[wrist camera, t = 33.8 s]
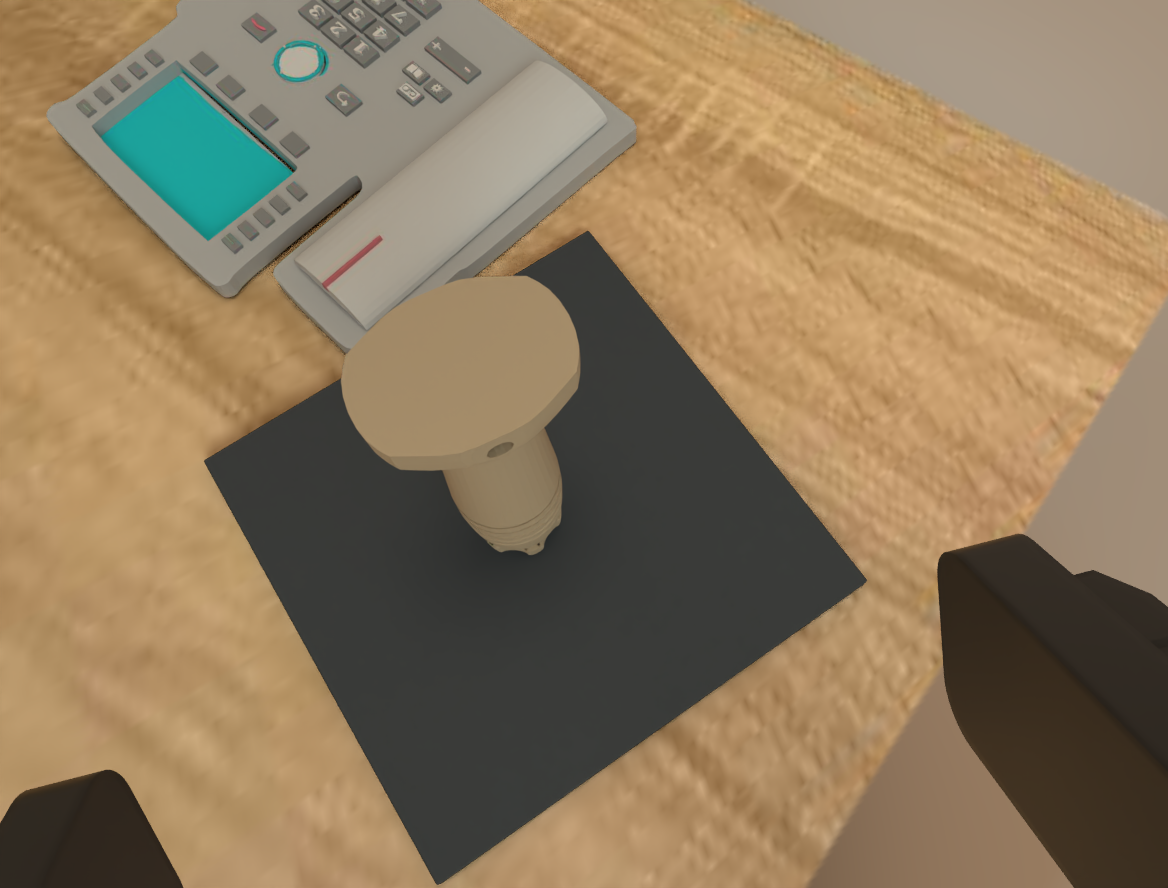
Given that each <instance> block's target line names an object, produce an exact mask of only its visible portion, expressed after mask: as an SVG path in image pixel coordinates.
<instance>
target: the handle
mask: <svg viewBox="0 0 1168 888" xmlns="http://www.w3.org/2000/svg"><path fill="white" fill-rule="evenodd" d="M579 378H580V350H579V343H578V339H577V334H576V330H575V328H574V325H573V323H572V321H571V318H570V316H569V314H568V313H567V311H566V309H565V308H564V306H563V305H562V303H561V302H560V300H559V299H558V298H557V297H556V296H555V295H554V294H553V293H552V292H551V291H550V290H549V289H548V288H546V287H545V286H543V285H542V284H541V283H539V282H538V281H536V280H534V279H532V278H530V277H528V276H491V277H474V278H467V279H460V280H457V281H454V282H451V283H448V284H445V285H442V286H440V287H437V288H435V289H433V290H431V291H428V292H426V293H424V294H421V295H419V296H417V297H414V298H412V299H410V300H408V301H406V302H404V303H402V304H401V305H399V306H397V307H395V308H393V309H392V310H391V311H390V312H388V313H387V314H386V315H385V316H384V317H382V318H381V319H380V320H379V321H378V322H377V323H376V324H375V325H374V326H373V327H372V328H371V329H370V330H369V331H368V332H367V333H366V334H365V335H364V336H363V337H362V338H361V339H360V340H359V341H358V342H357V343H356V345H355V346H354V347H353V348H352V349H351V350H350V351H349V352H348V353H347V354H346V356H345V360H344V364H343V368H342V377H341V385H342V393H343V398H344V402H345V405H346V408H347V411H348V414H349V416H350V418H351V419H352V421H353V423H354V425H355V427H356V429H357V430H358V431H359V433H360V434H361V435H362V437H363V438H364V439H365V441H366V442H367V443H368V444H369V446H370V447H371V448H372V449H373V451H374V452H375V453H376V454H377V455H379V456H380V457H381V458H382V459H384V460H385V461H386V462H388V463H389V464H391V465H393V466H394V467H396V468H398V469H400V470H427V471H434V470H442V471H443V473H444V476H445V479H446V482H447V485H448V488H449V490H450V493H451V496H452V498H453V500H454V502H455V504H456V506H457V507H458V509H459V511H460V513H461V514H462V516H463V517H464V519H465V520H466V521H467V522H468V524H469V525H470V526H471V527H472V528H473V529H474V530H475V531H476V532H477V533H478V534H479V535H480V536H481V537H483V538H484V539H485V540H487V543H488V544H489V545H491V546H492V547H493V548H494V549H495V550H497V551H499V552H504V551H508V550H518V551H522V552H525V553H527V554H528V555H534V554H536V553H538V552H540V551H541V550H542V549H544V543H545V540H546V538H547V536H548V535H549V534H550V533H551V531H552V530H553V529H554V528H555V527H556V526H559V524H560V522H561V504H562V478H561V473H560V468H559V464H558V460H557V457H556V454H555V452H554V449H553V447H552V444H551V442H550V440H549V437H548V435H547V433H546V430H545V428H544V427H545V426H546V425H547V424H548V423H549V422H550V421H551V420H552V419H553V418H554V417H555V416H556V415H557V414H558V413H559V411H560V410H561V409H562V408H563V407H564V405H565V404H566V403H567V402H568V401H569V399H570V398H571V397H572V395H573V394H574V393H575V392H576V390H577V389H578V384H579Z"/></svg>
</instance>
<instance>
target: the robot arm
mask: <svg viewBox="0 0 1168 888" xmlns="http://www.w3.org/2000/svg"><path fill="white" fill-rule="evenodd" d="M937 573H938V591H939V606H940V621H941V636H942V651H943V666H944V678H945V686H946V691H947V695H948V699H949V702H950V705H951V709H952V711H953V714H954V716H955V719H956V721H957V723H958V726H959V728H960V730H961V732H962V734H963V735H964V737H965V739H966V741H967V742H968V743H969V745H970V746H971V748H972V749H973V751H974V752H975V753H976V755H977V756H978V757H979V759H980V760H981V761H982V763H983V764H984V765H985V767H986V768H987V770H988V771H989V772H990V774H991V775H992V776H993V778H994V779H995V780H996V782H997V783H998V785H999V786H1000V787H1001V789H1002V790H1003V791H1004V792H1005V794H1006V795H1007V797H1008V798H1009V800H1010V801H1011V802H1012V804H1013V805H1014V806H1015V808H1016V809H1017V810H1018V812H1019V813H1020V815H1021V816H1022V817H1023V819H1024V820H1025V821H1026V823H1027V824H1028V826H1029V827H1030V828H1031V830H1032V831H1033V832H1034V834H1035V835H1036V836H1037V838H1038V839H1039V840H1040V842H1041V843H1042V844H1043V846H1044V847H1045V849H1046V850H1047V851H1048V853H1049V854H1050V855H1051V857H1052V858H1053V860H1054V861H1055V862H1056V864H1057V865H1058V866H1059V868H1060V869H1061V870H1062V872H1063V873H1064V875H1065V876H1066V877H1067V879H1068V880H1069V881H1070V883H1071V884H1072V885H1073V887H1074V888H1168V607H1167V606H1166V605H1165V604H1163V603H1162V602H1161V601H1159V600H1158V599H1157V598H1156V597H1155V596H1153V595H1152V594H1150V593H1148V592H1145V591H1143V590H1140V589H1138V588H1135V587H1133V586H1130V585H1128V584H1126V583H1123V582H1121V581H1118V580H1116V579H1114V578H1111V577H1109V576H1106V575H1104V574H1102V573H1099V572H1097V571H1094V570H1092V571H1088V572H1084V573H1080V574H1076V575H1073V574H1071V573H1070V572H1069V571H1068V570H1067V569H1066V568H1065V567H1063V566H1062V565H1061V564H1060V563H1059V562H1058V561H1056V560H1055V559H1054V558H1053V557H1052V556H1051V555H1049V554H1048V553H1047V552H1046V551H1045V550H1044V549H1043V548H1041V547H1040V546H1039V545H1038V544H1037V543H1036V542H1035V541H1033V540H1032V539H1030V538H1029V537H1028V536H1025V535H1023V534H1015V535H1011V536H1007V537H1003V538H1000V539H996V540H992V541H988V542H984V543H980V544H976V545H972V546H968V547H964V548H960V549H957V550H953V551H949V552H945V553H943V554H942V555H941V557H940V559H939V562H938V569H937ZM0 888H183V886H182V883H181V881H180V879H179V877H178V875H177V873H176V872H175V870H174V868H173V866H172V864H171V862H170V860H169V859H168V857H167V855H166V853H165V851H164V849H163V848H162V846H161V844H160V842H159V840H158V838H157V836H156V835H155V833H154V831H153V829H152V827H151V825H150V824H149V822H148V820H147V818H146V816H145V814H144V812H143V811H142V809H141V807H140V805H139V803H138V801H137V800H136V798H135V796H134V794H133V792H132V790H131V789H130V787H129V785H128V784H127V782H126V781H125V779H124V778H123V777H122V776H121V775H120V774H118V773H117V772H115V771H112V770H104V771H100V772H96V773H92V774H88V775H84V776H80V777H77V778H73V779H69V780H65V781H61V782H57V783H53V784H49V785H45V786H41V787H38V788H34V789H30V790H26V791H24V792H23V793H21V794H20V795H19V796H18V797H17V798H16V799H15V800H14V801H13V803H12V804H11V806H10V807H9V809H8V811H7V813H6V814H5V816H4V818H3V820H2V821H1V823H0Z"/></svg>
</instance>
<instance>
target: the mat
mask: <svg viewBox="0 0 1168 888" xmlns="http://www.w3.org/2000/svg"><path fill="white" fill-rule="evenodd" d="M513 276H528V277H530V278H532V279H534V280H536V281H538V282H539V283H541V284H542V285H543V286H545V287H546V288H548V289H549V290H550V291H551V292H552V293H553V294H554V295H555V296H556V297H557V298H558V299H559V300H560V302H561V303H562V305H563V306H564V308H565V309H566V311H567V313H568V314H569V316H570V318H571V321H572V323H573V325H574V328H575V330H576V334H577V339H578V343H579V350H580V378H579V384H578V389H577V390H576V392H575V393H574V394H573V395H572V397H571V398H570V399H569V401H568V402H567V403H566V404H565V405H564V407H563V408H562V409H561V410H560V411H559V413H558V414H557V415H556V416H555V417H554V418H553V419H552V420H551V421H550V422H549V423H548V424H547V425H546V426H545V427H544V428H545V430H546V433H547V435H548V437H549V440H550V442H551V444H552V447H553V449H554V452H555V454H556V457H557V460H558V464H559V468H560V473H561V478H562V504H561V522H560V524H559V526H556V527H555V528H554V529H553V530H552V531H551V533H550V534H549V535H548V536H547V538H546V540H545V543H544V549H542V550H541V551H540V552H538V553H536V554H534V555H528V554H527V553H525V552H522V551H518V550H508V551H504V552H499V551H497V550H495V549H494V548H493V547H492V546H491V545H489V544H488V543H487V540H485V539H484V538H483V537H481V536H480V535H479V534H478V533H477V532H476V531H475V530H474V529H473V528H472V527H471V526H470V525H469V524H468V522H467V521H466V520H465V519H464V517H463V516H462V514H461V513H460V511H459V509H458V507H457V506H456V504H455V502H454V500H453V498H452V496H451V493H450V490H449V488H448V485H447V482H446V479H445V476H444V473H443V471H442V470H434V471H427V470H400V469H398V468H396V467H394V466H393V465H391V464H389V463H388V462H386V461H385V460H384V459H382V458H381V457H380V456H379V455H377V454H376V453H375V452H374V451H373V449H372V448H371V447H370V446H369V444H368V443H367V442H366V441H365V439H364V438H363V437H362V435H361V434H360V433H359V431H358V430H357V429H356V427H355V425H354V423H353V421H352V419H351V418H350V416H349V414H348V411H347V408H346V405H345V402H344V398H343V393H342V385H341V379H339V380H338V381H336V382H334V383H333V384H331V385H329V386H328V387H326V388H324V389H323V390H321V391H319V392H318V393H316V394H314V395H313V396H311V397H309V398H308V399H306V400H304V401H303V402H301V403H299V404H298V405H296V406H294V407H293V408H291V409H289V410H288V411H286V412H284V413H283V414H281V415H279V416H278V417H276V418H274V419H273V420H271V421H269V422H268V423H266V424H264V425H263V426H261V427H259V428H258V429H256V430H254V431H253V432H251V433H249V434H248V435H246V436H244V437H243V438H241V439H239V440H238V441H236V442H234V443H233V444H231V445H229V446H227V447H226V448H224V449H222V450H221V451H219V452H217V453H216V454H214V455H212V456H211V457H209V458H207V459H206V460H204V462H205V464H206V466H207V468H208V470H209V471H210V473H211V475H212V477H213V479H214V481H215V482H216V484H217V486H218V488H219V490H220V491H221V493H222V495H223V497H224V499H225V501H226V502H227V504H228V506H229V508H230V510H231V511H232V513H233V515H234V517H235V519H236V521H237V522H238V524H239V526H240V528H241V530H242V531H243V533H244V535H245V537H246V539H247V541H248V542H249V544H250V546H251V548H252V550H253V551H254V553H255V555H256V557H257V559H258V561H259V562H260V564H261V566H262V568H263V570H264V571H265V573H266V575H267V577H268V579H269V581H270V582H271V584H272V586H273V588H274V590H275V592H276V593H277V595H278V597H279V599H280V601H281V602H282V604H283V606H284V608H285V610H286V612H287V613H288V615H289V617H290V619H291V621H292V622H293V624H294V626H295V628H296V630H297V632H298V633H299V635H300V637H301V639H302V641H303V642H304V644H305V646H306V648H307V650H308V652H309V653H310V655H311V657H312V659H313V661H314V662H315V664H316V666H317V668H318V670H319V672H320V673H321V675H322V677H323V679H324V681H325V682H326V684H327V686H328V688H329V690H330V692H331V693H332V695H333V697H334V699H335V701H336V702H337V704H338V706H339V708H340V710H341V712H342V713H343V715H344V717H345V719H346V721H347V723H348V724H349V726H350V728H351V730H352V732H353V733H354V735H355V737H356V739H357V741H358V743H359V744H360V746H361V748H362V750H363V752H364V753H365V755H366V757H367V759H368V761H369V763H370V764H371V766H372V768H373V770H374V772H375V773H376V775H377V777H378V779H379V781H380V783H381V784H382V786H383V788H384V790H385V792H386V793H387V795H388V797H389V799H390V801H391V803H392V804H393V806H394V808H395V810H396V812H397V813H398V815H399V817H400V819H401V821H402V823H403V824H404V826H405V828H406V830H407V832H408V833H409V835H410V837H411V839H412V841H413V843H414V844H415V846H416V848H417V850H418V852H419V854H420V855H421V857H422V859H423V861H424V863H425V864H426V866H427V868H428V870H429V872H430V874H431V875H432V877H433V879H434V881H435V883H436V884H437V885H439V884H441V883H443V882H444V881H446V880H447V879H448V878H450V877H451V876H453V875H454V874H455V873H457V872H458V871H460V870H461V869H463V868H464V867H465V866H467V865H468V864H470V863H471V862H472V861H474V860H475V859H477V858H478V857H479V856H481V855H482V854H484V853H485V852H487V851H488V850H489V849H491V848H492V847H494V846H495V845H496V844H498V843H499V842H501V841H502V840H503V839H505V838H506V837H508V836H509V835H511V834H512V833H513V832H515V831H516V830H518V829H519V828H520V827H522V826H523V825H525V824H526V823H527V822H529V821H530V820H532V819H533V818H535V817H536V816H537V815H539V814H540V813H542V812H543V811H544V810H546V809H547V808H549V807H550V806H551V805H553V804H554V803H556V802H557V801H559V800H560V799H561V798H563V797H564V796H566V795H567V794H568V793H570V792H571V791H573V790H574V789H575V788H577V787H578V786H580V785H581V784H583V783H584V782H585V781H587V780H588V779H590V778H591V777H592V776H594V775H595V774H597V773H598V772H599V771H601V770H602V769H604V768H605V767H607V766H608V765H609V764H611V763H612V762H614V761H615V760H616V759H618V758H619V757H621V756H622V755H623V754H625V753H626V752H628V751H629V750H631V749H632V748H633V747H635V746H636V745H638V744H639V743H640V742H642V741H643V740H645V739H646V738H647V737H649V736H650V735H652V734H653V733H654V732H656V731H657V730H659V729H660V728H662V727H663V726H664V725H666V724H667V723H669V722H670V721H671V720H673V719H674V718H676V717H677V716H678V715H680V714H681V713H683V712H684V711H686V710H687V709H688V708H690V707H691V706H693V705H694V704H695V703H697V702H698V701H700V700H701V699H702V698H704V697H705V696H707V695H708V694H710V693H711V692H712V691H714V690H715V689H717V688H718V687H719V686H721V685H722V684H724V683H725V682H726V681H728V680H729V679H731V678H732V677H734V676H735V675H736V674H738V673H739V672H741V671H742V670H743V669H745V668H746V667H748V666H749V665H750V664H752V663H753V662H755V661H756V660H758V659H759V658H760V657H762V656H763V655H765V654H766V653H767V652H769V651H770V650H772V649H773V648H774V647H776V646H777V645H779V644H780V643H782V642H783V641H784V640H786V639H787V638H789V637H790V636H791V635H793V634H794V633H796V632H797V631H798V630H800V629H801V628H803V627H804V626H806V625H807V624H808V623H810V622H811V621H813V620H814V619H815V618H817V617H818V616H820V615H821V614H822V613H824V612H825V611H827V610H828V609H830V608H831V607H832V606H834V605H835V604H837V603H838V602H839V601H841V600H842V599H844V598H845V597H846V596H848V595H849V594H851V593H852V592H854V591H855V590H856V589H858V588H859V587H861V586H862V585H863V584H864V583H866V581H867V579H866V578H865V577H864V576H863V574H862V573H861V572H860V571H859V569H858V568H857V567H856V566H855V564H854V563H853V562H852V561H851V559H850V558H849V557H848V556H847V554H846V553H845V552H844V551H843V549H842V548H841V547H840V546H839V544H838V543H837V542H836V540H835V539H834V538H833V537H832V535H831V534H830V533H829V532H828V530H827V529H826V528H825V527H824V525H823V524H822V523H821V522H820V520H819V519H818V518H817V517H816V515H815V514H814V513H813V512H812V510H811V509H810V508H809V507H808V505H807V504H806V503H805V502H804V500H803V499H802V498H801V497H800V495H799V494H798V493H797V492H796V490H795V489H794V488H793V487H792V485H791V484H790V483H789V482H788V480H787V479H786V478H785V477H784V475H783V474H782V473H781V472H780V470H779V469H778V468H777V466H776V465H775V464H774V463H773V461H772V460H771V459H770V458H769V456H768V455H767V454H766V453H765V451H764V450H763V449H762V448H761V446H760V445H759V444H758V443H757V441H756V440H755V439H754V438H753V436H752V435H751V434H750V433H749V431H748V430H747V429H746V428H745V426H744V425H743V424H742V423H741V421H740V420H739V419H738V418H737V416H736V415H735V414H734V413H733V411H732V410H731V409H730V408H729V406H728V405H727V404H726V403H725V401H724V400H723V399H722V398H721V396H720V395H719V394H718V392H717V391H716V390H715V389H714V387H713V386H712V385H711V384H710V382H709V381H708V380H707V379H706V377H705V376H704V375H703V374H702V372H701V371H700V370H699V369H698V367H697V366H696V365H695V364H694V362H693V361H692V360H691V359H690V357H689V356H688V355H687V354H686V352H685V351H684V350H683V349H682V347H681V346H680V345H679V344H678V342H677V341H676V340H675V339H674V337H673V336H672V335H671V334H670V332H669V331H668V330H667V329H666V327H665V326H664V325H663V324H662V322H661V321H660V320H659V319H658V317H657V316H656V315H655V313H654V312H653V311H652V310H651V308H650V307H649V306H648V305H647V303H646V302H645V301H644V300H643V298H642V297H641V296H640V295H639V293H638V292H637V291H636V290H635V288H634V287H633V286H632V285H631V283H630V282H629V281H628V280H627V278H626V277H625V276H624V275H623V273H622V272H621V271H620V270H619V268H618V267H617V266H616V265H615V263H614V262H613V261H612V260H611V258H610V257H609V256H608V255H607V253H606V252H605V251H604V250H603V248H602V247H601V246H600V245H599V243H598V242H597V241H596V239H595V238H594V237H593V236H592V234H591V233H590V232H589V231H587V232H585V233H583V234H582V235H580V236H578V237H577V238H575V239H573V240H572V241H570V242H568V243H567V244H565V245H563V246H562V247H560V248H558V249H557V250H555V251H553V252H552V253H550V254H548V255H547V256H545V257H543V258H542V259H540V260H538V261H537V262H535V263H533V264H532V265H530V266H528V267H527V268H525V269H523V270H521V271H520V272H518V273H516V274H515V275H513Z"/></svg>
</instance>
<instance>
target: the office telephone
mask: <svg viewBox="0 0 1168 888" xmlns="http://www.w3.org/2000/svg"><path fill="white" fill-rule="evenodd" d="M176 10H177V14H178V15H177V17H176V18H175V19H174V20H172V21H171V22H170V23H169V24H168V25H167V26H165V27H164V28H163V29H162V30H161V31H159V32H158V33H157V34H155V35H154V36H153V37H151V38H150V39H149V40H148V41H146V42H145V43H144V44H142V45H141V46H140V47H138V48H137V49H136V50H134V51H133V52H132V53H131V54H129V55H128V56H127V57H125V58H124V59H123V60H121V61H120V62H119V63H117V64H116V65H115V66H113V67H112V68H111V69H109V70H108V71H107V72H105V73H104V74H102V75H101V76H100V77H98V78H97V79H96V80H94V81H93V82H92V83H90V84H89V85H88V86H86V87H85V88H84V89H82V90H81V91H79V92H78V93H77V94H75V95H73V96H72V97H70V98H69V99H67V100H65V101H63V102H59V103H55V104H54V105H52V106H51V107H50V108H49V110H48V111H47V118H48V120H49V122H50V123H51V124H52V125H53V127H54V128H55V129H56V130H57V131H58V132H59V134H60V135H61V136H62V137H63V138H64V139H65V141H66V142H67V143H68V144H69V145H70V146H71V147H72V148H73V150H74V151H75V152H76V153H77V154H78V155H79V156H80V157H81V158H82V159H83V160H84V161H85V162H86V163H87V164H88V165H89V166H90V167H91V168H92V169H93V170H94V171H95V172H96V173H97V174H98V176H99V177H100V178H101V179H102V180H103V181H104V182H105V183H106V184H107V185H108V186H109V187H110V188H111V189H112V190H113V191H114V192H115V193H116V194H117V195H118V196H119V197H120V198H121V199H122V200H123V201H124V202H125V203H126V204H127V205H128V206H129V207H130V208H131V209H132V210H133V211H134V212H135V213H136V214H137V215H138V216H139V217H140V218H141V219H142V220H143V222H144V223H145V224H146V225H147V226H148V227H149V228H150V229H151V230H152V231H153V232H154V233H155V234H156V235H157V236H158V237H159V238H160V239H161V240H162V241H163V242H164V243H165V244H166V245H167V246H168V247H169V248H170V249H171V250H172V251H173V252H174V253H175V254H176V255H177V256H178V257H179V258H180V259H181V260H182V261H183V262H184V263H185V264H186V265H187V266H188V267H189V268H191V269H192V270H193V271H194V272H195V273H196V274H197V275H198V276H200V277H201V278H202V279H203V280H204V281H205V282H206V283H208V284H209V285H210V286H211V287H212V288H213V289H214V290H215V291H217V292H218V293H219V294H221V295H222V296H223V297H231V296H234V295H236V294H237V293H238V292H239V290H240V289H241V287H242V286H243V285H244V284H245V283H246V282H248V281H249V280H250V279H251V278H252V277H253V276H254V275H255V274H256V273H258V272H259V271H260V270H261V269H262V268H264V267H265V266H266V265H267V264H268V263H270V262H271V261H272V260H273V259H274V258H276V257H277V256H278V255H279V254H280V253H282V252H283V251H284V250H285V249H286V248H288V247H289V246H290V245H291V244H292V243H294V242H295V241H296V240H297V239H298V238H300V237H301V236H302V235H303V234H305V233H306V232H307V231H308V230H309V229H311V228H312V227H313V226H314V225H316V224H317V223H318V222H319V221H321V220H322V219H323V218H324V217H326V216H327V215H328V214H329V213H330V212H332V211H333V210H334V209H335V208H337V207H338V206H339V205H340V204H342V203H343V202H344V201H345V200H347V199H348V198H349V197H350V196H351V195H353V194H354V193H355V192H356V191H358V190H360V189H362V190H361V192H360V193H359V194H358V195H357V196H356V198H355V199H354V200H352V201H351V202H350V203H349V204H348V205H347V206H345V207H344V208H343V209H342V210H341V211H340V212H338V213H337V214H336V215H335V216H334V217H333V218H331V219H330V220H329V221H328V222H327V223H326V224H324V225H323V226H322V227H321V228H320V229H318V230H317V231H316V232H315V233H314V234H313V235H311V236H310V237H309V238H308V239H307V240H306V241H304V242H303V243H302V244H301V245H300V246H299V247H297V248H296V249H295V250H294V251H293V252H292V253H290V254H289V255H288V256H287V257H286V258H284V259H283V260H282V261H281V262H280V263H279V264H278V265H277V266H276V267H275V269H274V272H273V273H274V277H275V278H276V280H277V281H278V283H279V284H280V286H281V287H282V289H283V290H284V292H285V293H286V294H287V295H288V296H289V297H290V298H291V299H292V300H293V302H294V303H295V304H296V305H297V306H298V307H299V308H300V309H301V310H302V311H303V312H304V313H305V314H306V315H307V316H308V317H309V318H310V319H311V320H312V321H313V322H314V323H315V324H316V325H317V326H318V327H319V328H320V329H321V330H322V331H323V332H324V333H325V334H326V335H327V336H328V337H329V338H330V339H331V340H332V341H333V342H335V343H336V344H337V345H338V346H339V347H340V348H341V349H342V350H343V351H344V352H345V353H346V354H347V353H348V352H349V351H350V350H351V349H352V348H353V347H354V346H355V345H356V343H357V342H358V341H359V340H360V339H361V338H362V337H363V336H364V335H365V334H366V333H367V332H368V331H369V330H370V329H371V328H372V327H373V326H374V325H375V324H376V323H377V322H378V321H379V320H380V319H381V318H382V317H384V316H385V315H386V314H387V313H388V312H390V311H391V310H392V309H393V308H395V307H397V306H399V305H401V304H402V303H404V302H406V301H408V300H410V299H412V298H414V297H417V296H419V295H421V294H424V293H426V292H428V291H431V290H433V289H435V288H437V287H440V286H442V285H445V284H448V283H451V282H454V281H457V280H460V279H467V278H473V277H474V276H475V275H476V274H478V273H479V272H480V271H482V270H483V269H484V268H485V267H487V266H488V265H489V264H490V263H491V262H493V261H494V260H495V259H496V258H497V257H499V256H500V255H501V254H502V253H503V252H504V251H506V250H507V249H508V248H509V247H510V246H512V245H513V244H514V243H515V242H516V241H518V240H519V239H520V238H521V237H522V236H523V235H525V234H526V233H527V232H528V231H529V230H531V229H532V228H533V227H534V226H535V225H537V224H538V223H539V222H540V221H541V220H543V219H544V218H545V217H546V216H547V215H548V214H550V213H551V212H552V211H553V210H554V209H556V208H557V207H558V206H559V205H560V204H562V203H563V202H564V201H565V200H566V199H567V198H569V197H570V196H571V195H572V194H573V193H575V192H576V191H577V190H578V189H579V188H581V187H582V186H583V185H584V184H585V183H586V182H588V181H589V180H590V179H591V178H592V177H594V176H595V175H596V174H597V173H598V172H600V171H601V170H602V169H603V168H604V167H606V166H607V165H608V164H609V163H610V162H611V161H613V160H614V159H615V158H616V157H618V156H619V155H620V154H622V153H623V152H624V151H625V150H627V149H628V148H629V147H630V146H632V145H633V144H634V143H636V125H635V123H634V120H633V119H631V118H630V117H629V116H628V115H626V114H625V113H624V112H623V111H621V110H620V109H619V108H617V107H616V106H615V105H614V104H612V103H611V102H610V101H608V100H607V99H606V98H605V97H603V96H602V95H601V94H600V93H598V92H597V91H596V90H594V89H593V88H592V87H591V86H589V85H588V84H587V83H585V82H584V81H583V80H581V79H580V78H579V77H578V76H576V75H575V74H574V73H572V72H571V71H570V70H568V69H567V68H566V67H564V66H563V65H562V64H561V63H559V62H558V61H557V60H555V59H554V58H553V57H551V56H550V55H549V54H547V53H546V52H545V51H544V50H542V49H541V48H540V47H538V46H537V45H536V44H534V43H533V42H532V41H530V40H529V39H528V38H527V37H525V36H524V35H523V34H521V33H520V32H519V31H517V30H516V29H515V28H513V27H512V26H511V25H510V24H508V23H507V22H506V21H504V20H503V19H502V18H500V17H499V16H498V15H496V14H495V13H494V12H493V11H491V10H490V9H489V8H487V7H486V6H485V5H483V4H482V3H481V2H479V1H478V0H180V2H179V3H178V4H177V6H176ZM190 79H191V80H190ZM196 84H197V85H198V86H199V87H200V88H201V89H203V90H204V91H205V92H206V93H208V94H209V95H210V96H211V97H212V98H214V99H215V100H216V101H217V102H218V103H219V104H220V105H221V106H223V107H224V108H225V109H226V110H227V111H228V112H229V113H231V114H232V115H233V116H234V117H235V118H236V119H237V120H238V121H240V122H241V123H242V124H243V125H244V126H245V127H246V128H248V129H249V130H250V131H251V132H252V133H253V134H254V135H255V136H257V137H258V138H259V139H260V140H261V141H262V142H263V143H265V144H266V145H267V146H268V147H269V148H270V149H271V150H272V151H274V152H275V153H276V154H277V155H278V156H279V157H280V158H281V159H283V160H284V161H285V162H286V163H287V164H288V165H289V166H290V167H291V168H292V169H293V170H294V171H295V172H294V173H293V172H292V171H291V170H290V169H289V168H288V167H286V166H285V165H284V164H283V163H282V162H281V161H280V160H279V159H278V158H277V157H275V156H274V155H273V154H272V153H271V152H270V151H269V150H268V149H267V148H265V147H264V146H263V145H262V144H261V143H260V142H259V141H258V140H257V139H256V138H254V137H253V136H252V135H251V134H250V133H249V132H248V131H247V130H246V129H245V128H243V127H242V126H241V125H240V124H239V123H238V122H237V121H236V120H235V119H233V118H232V117H231V116H230V115H229V114H228V113H227V112H226V111H225V110H224V109H222V108H221V107H220V106H219V105H218V104H217V103H216V102H215V101H214V100H213V99H211V98H210V97H209V96H208V95H207V94H206V93H205V92H204V91H203V90H201V89H200V88H199V87H198V86H197V85H196Z"/></svg>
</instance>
